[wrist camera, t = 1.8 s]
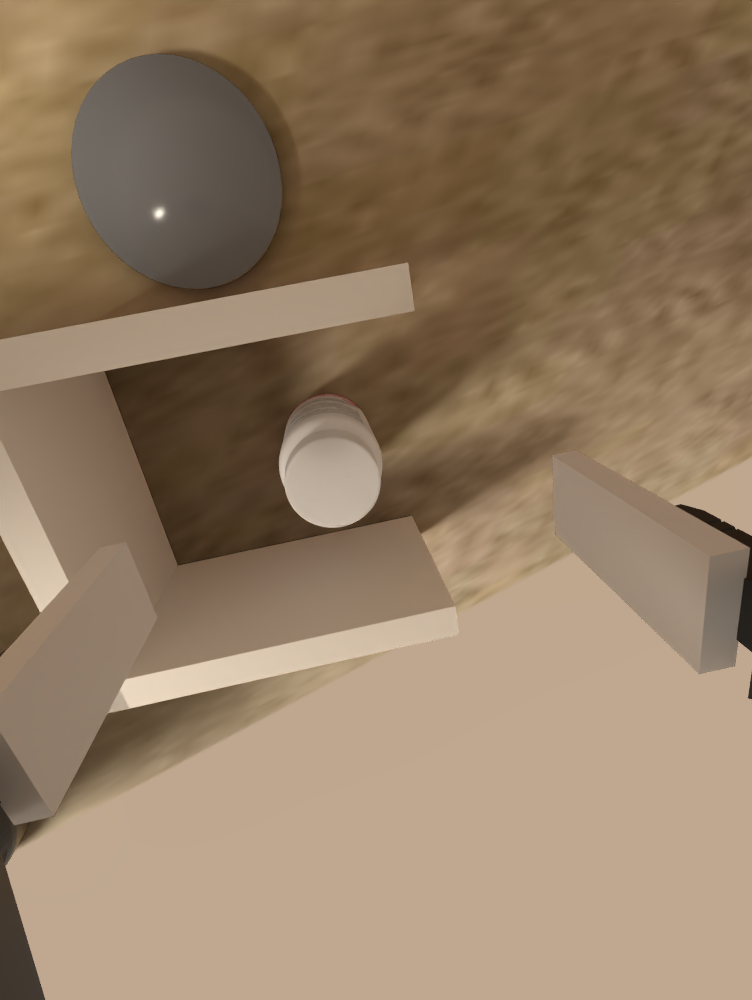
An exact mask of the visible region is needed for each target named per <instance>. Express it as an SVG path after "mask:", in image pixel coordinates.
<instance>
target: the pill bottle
mask: <svg viewBox="0 0 752 1000" xmlns="http://www.w3.org/2000/svg"><path fill="white" fill-rule="evenodd" d="M382 468H383V460H382V454H381V450H380V447H379V444H378V442H377V440H376V438H375V436H374V434H373V432H372V430H371V428H370V426H369V423H368V421H367V419H366V417H365V415H364V414H363V412H362V411H361V409H360V408H359V407H358V406H357V405H356V404H354V403H353V402H352V401H350V400H348V399H347V398H344V397H342V396H339V395H334V394H321V395H316V396H313V397H311V398H308V399H306V400H305V401H303V402H302V403H300V404H299V405H298V406H297V407H296V408H295V409H294V411H293V412H292V413H291V415H290V417H289V419H288V422H287V425H286V429H285V434H284V439H283V443H282V447H281V451H280V455H279V472H280V477H281V480H282V483H283V485H284V487H285V491H286V495H287V498H288V500H289V502H290V504H291V506H292V507H293V509H294V510H295V511H296V512H297V513H298V514H299V515H300V516H301V517H302V518H303V519H305V520H306V521H308V522H310V523H312V524H315V525H318V526H322V527H328V528H337V527H343V526H347V525H350V524H353V523H354V522H356V521H358V520H360V519H361V518H363V517H364V516H365V515H366V514H367V513H368V512H369V511H370V510H371V509H372V507H373V506H374V504H375V503H376V501H377V498H378V496H379V493H380V487H381V475H382Z"/></svg>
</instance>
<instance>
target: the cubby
mask: <svg viewBox="0 0 752 1000" xmlns="http://www.w3.org/2000/svg"><path fill="white" fill-rule="evenodd" d="M412 311H415V309H414V302H413V294H412V287H411V280H410V273H409V265H408V263H403V264H397V265H392V266H387V267H382V268H376V269H371V270H366V271H360V272H355V273H350V274H344V275H339V276H334V277H329V278H323V279H318V280H313V281H307V282H302V283H297V284H291V285H286V286H281V287H276V288H270V289H265V290H260V291H254V292H249V293H244V294H238V295H233V296H228V297H223V298H217V299H212V300H207V301H201V302H196V303H191V304H185V305H180V306H175V307H170V308H164V309H159V310H154V311H148V312H143V313H138V314H132V315H127V316H122V317H117V318H111V319H106V320H101V321H95V322H90V323H85V324H79V325H74V326H69V327H64V328H58V329H53V330H48V331H42V332H37V333H32V334H26V335H21V336H16V337H11V338H5V339H0V536H1V538H2V540H3V542H4V544H5V546H6V548H7V550H8V551H9V553H10V555H11V557H12V559H13V561H14V563H15V565H16V567H17V569H18V571H19V573H20V575H21V576H22V578H23V580H24V582H25V584H26V586H27V588H28V590H29V592H30V594H31V596H32V598H33V600H34V601H35V603H36V605H37V607H38V609H39V611H40V613H41V612H42V611H43V610H44V609H45V607H46V606H47V605H48V604H49V603H50V602H51V601H52V600H53V599H54V598H55V597H56V595H57V594H58V593H59V592H60V591H61V590H62V589H63V588H64V587H65V586H66V584H67V583H68V582H69V581H70V580H71V579H72V578H73V577H74V576H75V575H76V574H77V572H78V571H79V570H80V569H81V568H82V567H83V566H84V565H85V564H86V563H87V561H88V560H89V559H90V558H91V557H92V556H93V555H94V554H95V553H96V552H97V551H98V549H99V548H100V547H104V546H109V545H114V544H119V543H124V542H126V543H127V545H128V548H129V550H130V552H131V555H132V557H133V560H134V562H135V564H136V567H137V569H138V572H139V574H140V577H141V579H142V581H143V584H144V586H145V589H146V591H147V593H148V596H149V598H150V601H151V603H152V605H153V608H154V610H155V613H156V615H157V617H158V618H157V620H156V622H155V624H154V626H153V628H152V629H151V631H150V633H149V635H148V637H147V639H146V641H145V643H144V645H143V647H142V649H141V650H140V652H139V654H138V656H137V658H136V660H135V662H134V664H133V666H132V668H131V670H130V672H129V673H128V675H127V677H126V679H125V681H124V683H123V685H122V687H121V689H120V691H119V693H118V694H117V696H116V698H115V700H114V702H113V704H112V706H111V708H110V710H109V712H108V713H112V712H117V711H121V710H126V709H130V708H135V707H139V706H143V705H148V704H152V703H157V702H161V701H166V700H170V699H175V698H179V697H183V696H188V695H192V694H197V693H201V692H206V691H210V690H215V689H219V688H223V687H228V686H232V685H237V684H241V683H246V682H250V681H255V680H259V679H263V678H268V677H272V676H277V675H281V674H286V673H290V672H295V671H299V670H304V669H308V668H312V667H317V666H321V665H326V664H330V663H335V662H339V661H344V660H348V659H352V658H357V657H361V656H366V655H370V654H375V653H379V652H384V651H388V650H392V649H397V648H401V647H406V646H410V645H415V644H419V643H424V642H428V641H432V640H437V639H441V638H446V637H450V636H455V635H459V629H458V622H457V614H456V607H455V604H454V602H453V600H452V598H451V596H450V594H449V592H448V590H447V588H446V586H445V584H444V581H443V579H442V577H441V575H440V573H439V571H438V569H437V567H436V565H435V563H434V561H433V559H432V556H431V554H430V552H429V550H428V548H427V546H426V544H425V542H424V540H423V538H422V536H421V534H420V531H419V529H418V527H417V525H416V523H415V521H414V519H413V517H412V516H409V517H404V518H399V519H394V520H390V521H385V522H380V523H376V524H371V525H366V526H362V527H357V528H352V529H347V530H343V531H338V532H333V533H329V534H324V535H319V536H315V537H310V538H305V539H300V540H296V541H291V542H286V543H282V544H277V545H272V546H268V547H263V548H258V549H253V550H249V551H244V552H239V553H235V554H230V555H225V556H220V557H216V558H211V559H206V560H202V561H197V562H192V563H188V564H183V565H177V562H176V560H175V557H174V554H173V552H172V549H171V546H170V544H169V541H168V539H167V536H166V533H165V531H164V528H163V525H162V523H161V520H160V517H159V515H158V512H157V509H156V507H155V504H154V501H153V499H152V496H151V493H150V491H149V488H148V485H147V483H146V480H145V478H144V475H143V472H142V470H141V467H140V464H139V462H138V459H137V456H136V454H135V451H134V448H133V446H132V443H131V440H130V438H129V435H128V432H127V430H126V427H125V425H124V422H123V419H122V417H121V414H120V411H119V409H118V406H117V403H116V401H115V398H114V395H113V393H112V390H111V387H110V385H109V382H108V379H107V377H106V374H105V371H107V370H112V369H117V368H122V367H128V366H133V365H138V364H143V363H148V362H153V361H159V360H164V359H169V358H174V357H179V356H184V355H190V354H195V353H200V352H205V351H210V350H215V349H221V348H226V347H231V346H236V345H241V344H247V343H252V342H257V341H262V340H267V339H272V338H278V337H283V336H288V335H293V334H298V333H303V332H309V331H314V330H319V329H324V328H329V327H334V326H340V325H345V324H350V323H355V322H360V321H365V320H371V319H376V318H381V317H386V316H391V315H396V314H402V313H407V312H412Z"/></svg>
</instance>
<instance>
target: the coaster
mask: <svg viewBox="0 0 752 1000" xmlns="http://www.w3.org/2000/svg"><path fill="white" fill-rule="evenodd" d="M72 168H73V174H74V180H75V184H76V188H77V191H78V194H79V198H80V200H81V203H82V205H83V208H84V210H85V212H86V214H87V216H88V218H89V220H90V222H91V223H92V225H93V227H94V228H95V230H96V231H97V233H98V234H99V236H100V237H101V239H102V240H103V241H104V242H105V243H106V244H107V246H108V247H109V248H110V249H111V250H112V251H113V252H114V253H115V254H116V255H117V256H118V257H119V258H120V259H121V260H122V261H124V262H125V263H126V264H128V265H129V266H130V267H132V268H133V269H134V270H136V271H138V272H139V273H141V274H143V275H144V276H146V277H148V278H151V279H153V280H155V281H157V282H160V283H163V284H167V285H170V286H174V287H180V288H187V289H207V288H214V287H218V286H222V285H225V284H227V283H230V282H232V281H234V280H236V279H238V278H240V277H241V276H243V275H244V274H246V273H247V272H248V271H249V270H251V269H252V268H253V267H254V266H255V265H256V264H257V263H258V262H259V261H260V260H261V258H262V257H263V256H264V254H265V253H266V251H267V250H268V248H269V247H270V245H271V242H272V240H273V238H274V236H275V234H276V230H277V227H278V224H279V220H280V215H281V210H282V197H283V194H282V179H281V172H280V166H279V162H278V158H277V155H276V151H275V147H274V145H273V142H272V140H271V137H270V134H269V132H268V130H267V128H266V126H265V124H264V122H263V121H262V119H261V117H260V116H259V114H258V113H257V111H256V110H255V108H254V107H253V105H252V104H251V103H250V101H249V100H248V99H247V98H246V97H245V96H244V94H243V93H242V92H241V91H240V90H239V89H238V88H237V87H236V86H235V85H233V84H232V83H231V82H230V81H229V80H228V79H226V78H225V77H224V76H222V75H221V74H219V73H218V72H217V71H215V70H213V69H211V68H209V67H208V66H206V65H204V64H202V63H199V62H197V61H194V60H192V59H189V58H185V57H181V56H176V55H168V54H151V55H143V56H139V57H135V58H131V59H129V60H127V61H124V62H122V63H120V64H118V65H116V66H115V67H113V68H112V69H110V70H109V71H107V72H106V73H105V74H104V75H103V76H102V77H101V78H100V79H99V80H98V81H97V82H96V83H95V84H94V86H93V87H92V88H91V90H90V91H89V92H88V94H87V95H86V97H85V99H84V101H83V103H82V105H81V107H80V110H79V112H78V115H77V118H76V121H75V126H74V131H73V137H72Z"/></svg>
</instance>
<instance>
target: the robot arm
mask: <svg viewBox="0 0 752 1000" xmlns="http://www.w3.org/2000/svg"><path fill="white" fill-rule="evenodd" d="M552 471H553V495H554V518H555V535H556V536H557V537H558V538H559V539H560V540H561V541H562V542H563V543H564V544H566V545H567V546H568V547H569V548H570V549H571V550H572V551H573V552H574V553H575V554H576V555H577V556H578V557H579V558H580V559H581V560H582V561H583V562H584V563H585V564H586V565H587V566H588V567H589V568H590V569H591V570H592V571H594V573H596V574H597V576H599V577H600V578H601V579H602V580H603V581H604V582H605V583H606V584H607V585H608V586H609V587H610V588H611V589H612V590H613V591H614V592H615V593H616V594H617V595H618V596H619V597H620V598H621V599H622V600H623V601H624V602H625V603H626V604H627V605H629V607H631V608H632V609H633V610H634V611H635V612H636V613H637V614H638V615H639V616H640V617H641V618H642V619H643V620H644V621H645V622H646V623H647V624H648V625H649V626H650V627H651V628H652V629H653V630H654V631H655V632H656V633H657V634H658V635H659V636H660V637H661V638H662V639H664V641H666V642H667V643H668V644H669V645H670V646H671V647H672V648H673V649H674V650H675V651H676V652H677V653H678V654H679V655H680V656H681V657H682V658H683V659H684V660H685V661H686V662H687V663H688V664H689V665H690V666H691V667H692V668H693V669H694V670H696V672H698V673H699V674H701V673H706V672H710V671H715V670H720V669H724V668H728V667H733V666H735V663H736V655H737V647H738V641H739V642H740V643H741V644H743V645H744V646H745V647H746V648H748V649H749V650H750V651H751V652H752V536H751V535H749V534H747V533H745V532H743V531H741V530H739V529H737V530H736V529H735V527H734V526H732V525H730V524H728V523H726V522H721V520H720V519H718V518H717V517H715V516H713V515H711V514H709V513H707V512H706V511H703V510H700V509H696V508H693V507H689V506H685V505H681V504H680V505H676V506H675V505H673V504H671V503H669V502H667V501H666V500H664V499H662V498H660V497H658V496H657V495H655V494H653V493H651V492H650V491H648V490H646V489H644V488H642V487H641V486H639V485H637V484H635V483H634V482H632V481H630V480H628V479H626V478H625V477H623V476H621V475H619V474H618V473H616V472H614V471H612V470H610V469H609V468H607V467H605V466H603V465H601V464H600V463H598V462H596V461H594V460H593V459H591V458H589V457H587V456H585V455H584V454H582V453H580V452H578V451H577V450H574V451H569V452H564V453H560V454H555V455H552ZM157 618H158V617H157V615H156V613H155V610H154V608H153V605H152V603H151V601H150V598H149V596H148V593H147V591H146V589H145V586H144V584H143V581H142V579H141V577H140V574H139V572H138V569H137V567H136V564H135V562H134V560H133V557H132V555H131V552H130V550H129V548H128V545H127V543H126V542H124V543H119V544H114V545H109V546H104V547H100V548H99V549H98V551H97V552H96V553H95V554H94V555H93V556H92V557H91V558H90V559H89V560H88V561H87V563H86V564H85V565H84V566H83V567H82V568H81V569H80V570H79V571H78V572H77V574H76V575H75V576H74V577H73V578H72V579H71V580H70V581H69V582H68V583H67V584H66V586H65V587H64V588H63V589H62V590H61V591H60V592H59V593H58V594H57V595H56V597H55V598H54V599H53V600H52V601H51V602H50V603H49V604H48V605H47V606H46V607H45V609H44V610H43V611H42V612H41V613H40V614H39V615H38V616H37V617H36V618H35V619H34V621H33V622H32V623H31V624H30V625H29V626H28V627H27V628H26V629H25V630H24V632H23V633H22V634H21V635H20V636H19V637H18V638H17V639H16V640H15V641H14V642H13V644H12V645H11V646H10V647H9V648H8V649H6V650H5V651H4V652H2V653H1V654H0V1000H45V998H44V994H43V991H42V987H41V984H40V981H39V977H38V974H37V971H36V967H35V964H34V961H33V957H32V954H31V951H30V948H29V944H28V941H27V938H26V934H25V931H24V927H23V924H22V921H21V917H20V914H19V911H18V907H17V904H16V901H15V897H14V894H13V891H12V888H11V884H10V881H9V877H8V874H7V871H6V868H5V866H6V865H7V863H8V861H9V860H10V858H11V857H12V855H13V853H14V851H15V849H16V848H17V846H18V844H19V842H20V840H21V839H22V837H23V835H24V833H25V831H26V829H27V827H28V824H29V822H32V821H36V820H41V819H45V818H50V817H54V815H55V813H56V811H57V809H58V807H59V805H60V803H61V801H62V800H63V798H64V796H65V794H66V792H67V790H68V788H69V786H70V784H71V782H72V780H73V779H74V777H75V775H76V773H77V771H78V769H79V767H80V765H81V763H82V761H83V759H84V758H85V756H86V754H87V752H88V750H89V748H90V746H91V744H92V742H93V740H94V738H95V736H96V735H97V733H98V731H99V729H100V727H101V725H102V723H103V721H104V719H105V717H106V715H107V714H108V712H109V710H110V708H111V706H112V704H113V702H114V700H115V698H116V696H117V694H118V693H119V691H120V689H121V687H122V685H123V683H124V681H125V679H126V677H127V675H128V673H129V672H130V670H131V668H132V666H133V664H134V662H135V660H136V658H137V656H138V654H139V652H140V650H141V649H142V647H143V645H144V643H145V641H146V639H147V637H148V635H149V633H150V631H151V629H152V628H153V626H154V624H155V622H156V620H157ZM748 698H749V699H752V675H751V681H750V688H749V696H748Z"/></svg>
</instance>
